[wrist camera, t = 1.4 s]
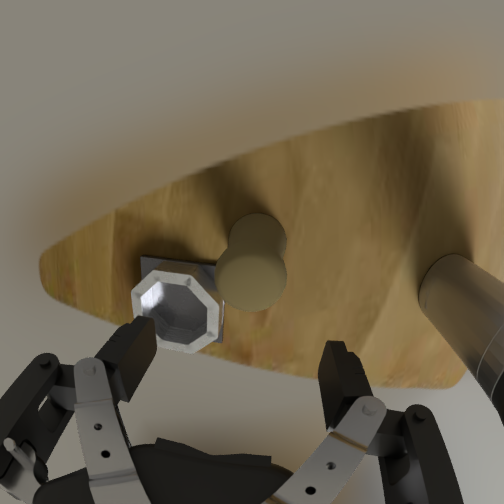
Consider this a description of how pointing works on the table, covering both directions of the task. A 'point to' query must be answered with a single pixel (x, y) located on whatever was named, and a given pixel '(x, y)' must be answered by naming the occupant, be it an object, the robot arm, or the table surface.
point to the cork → (252, 264)
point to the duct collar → (180, 302)
